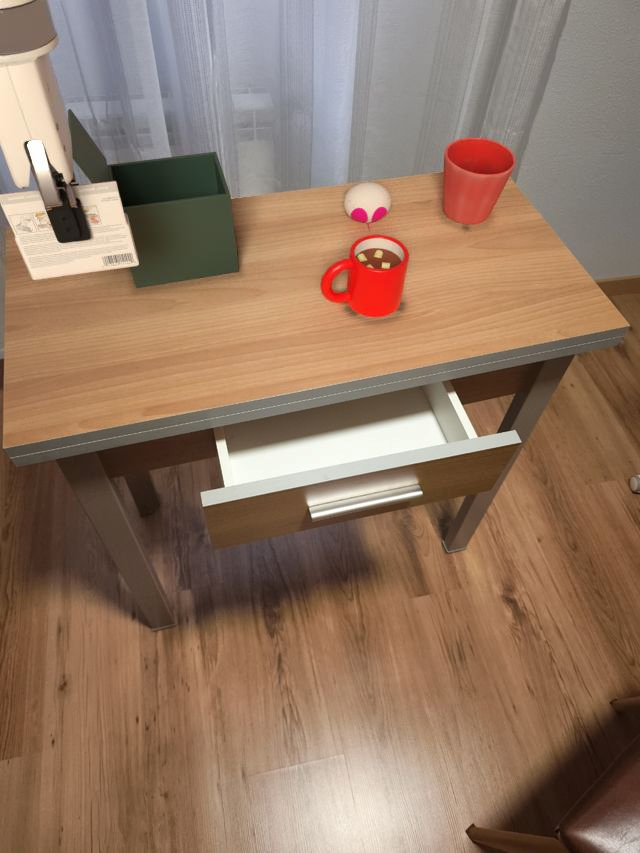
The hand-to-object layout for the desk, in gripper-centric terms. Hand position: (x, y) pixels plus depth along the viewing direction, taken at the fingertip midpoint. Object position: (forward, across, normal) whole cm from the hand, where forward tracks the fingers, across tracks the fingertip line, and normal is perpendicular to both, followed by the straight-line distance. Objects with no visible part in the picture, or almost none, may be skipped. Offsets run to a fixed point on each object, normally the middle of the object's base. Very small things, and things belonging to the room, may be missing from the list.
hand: (74, 229), depth 58 cm
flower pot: (+18, -19, +58) cm, 64 cm away
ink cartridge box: (+5, 0, 0) cm, 5 cm away
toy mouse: (+18, -21, +41) cm, 49 cm away
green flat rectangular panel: (+2, -19, +2) cm, 19 cm away
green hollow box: (+19, -19, +11) cm, 29 cm away
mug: (+19, -3, +34) cm, 39 cm away
